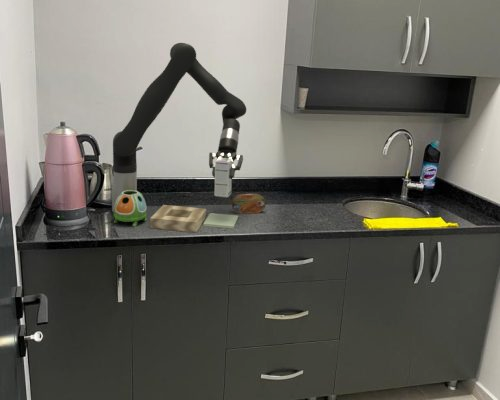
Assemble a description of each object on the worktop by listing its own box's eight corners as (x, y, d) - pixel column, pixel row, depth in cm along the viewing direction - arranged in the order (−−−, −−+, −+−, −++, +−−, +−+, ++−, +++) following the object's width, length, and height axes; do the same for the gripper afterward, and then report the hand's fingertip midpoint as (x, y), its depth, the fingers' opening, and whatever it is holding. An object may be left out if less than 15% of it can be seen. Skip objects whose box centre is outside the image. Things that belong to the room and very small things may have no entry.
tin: (231, 214, 215) (232, 195, 213) (230, 211, 218) (231, 193, 216) (265, 213, 219) (266, 194, 217) (263, 211, 222) (264, 192, 220)
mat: (203, 225, 198) (203, 223, 198) (210, 215, 211) (210, 213, 211) (233, 228, 197) (233, 226, 197) (238, 217, 210) (238, 215, 210)
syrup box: (228, 197, 198) (229, 161, 194) (213, 196, 199) (215, 160, 195) (231, 193, 203) (233, 158, 199) (217, 192, 204) (218, 157, 200)
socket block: (150, 228, 192) (150, 218, 191) (163, 214, 209) (163, 204, 208) (196, 232, 190) (196, 222, 189) (205, 218, 208) (206, 208, 206)
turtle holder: (155, 214, 208) (155, 186, 205) (138, 228, 191) (138, 198, 188) (126, 211, 210) (126, 183, 207) (108, 224, 193) (107, 195, 189)
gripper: (210, 135, 203) (203, 170, 195) (245, 138, 201) (240, 173, 193) (212, 146, 209) (205, 180, 201) (246, 148, 208) (241, 183, 200)
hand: (222, 177), depth 197 cm, fingers closed on syrup box, 6 cm apart
